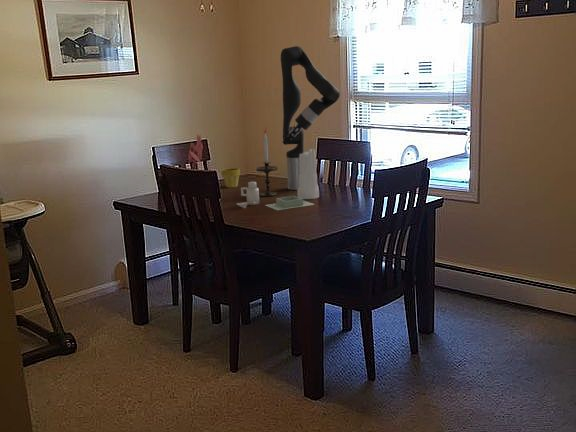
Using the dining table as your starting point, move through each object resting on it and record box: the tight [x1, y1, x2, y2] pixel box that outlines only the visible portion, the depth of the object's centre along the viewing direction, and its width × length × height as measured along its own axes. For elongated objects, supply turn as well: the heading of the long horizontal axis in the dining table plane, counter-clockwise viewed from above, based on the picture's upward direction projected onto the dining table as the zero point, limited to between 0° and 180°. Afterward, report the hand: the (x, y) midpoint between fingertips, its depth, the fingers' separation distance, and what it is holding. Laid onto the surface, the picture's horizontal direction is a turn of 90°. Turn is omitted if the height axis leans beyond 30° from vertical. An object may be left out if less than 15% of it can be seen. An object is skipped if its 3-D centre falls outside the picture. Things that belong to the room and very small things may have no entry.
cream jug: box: [240, 181, 260, 206], centre depth 330 cm, size 9×6×10 cm
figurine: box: [187, 133, 204, 171], centre depth 331 cm, size 15×26×35 cm, turn 13°
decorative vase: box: [296, 148, 320, 200], centre depth 338 cm, size 11×11×25 cm
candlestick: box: [256, 128, 278, 198], centre depth 349 cm, size 11×11×35 cm
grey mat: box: [236, 201, 249, 209], centre depth 331 cm, size 13×11×1 cm
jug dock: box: [264, 195, 316, 211], centre depth 324 cm, size 20×14×4 cm
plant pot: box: [220, 167, 241, 188], centre depth 381 cm, size 10×10×10 cm
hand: (284, 142), depth 334 cm, fingers open, 8 cm apart
